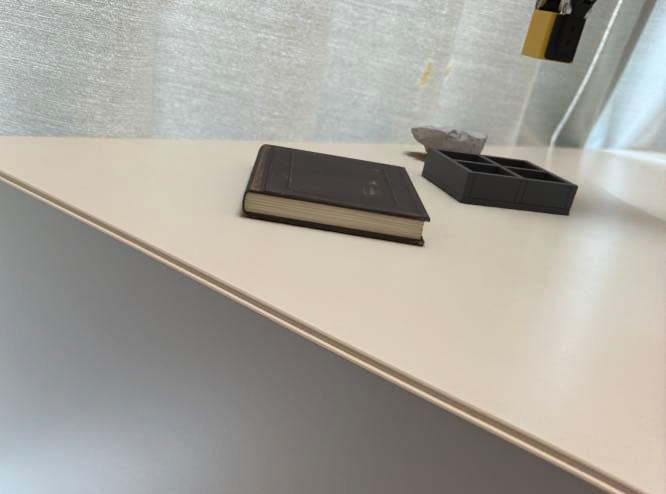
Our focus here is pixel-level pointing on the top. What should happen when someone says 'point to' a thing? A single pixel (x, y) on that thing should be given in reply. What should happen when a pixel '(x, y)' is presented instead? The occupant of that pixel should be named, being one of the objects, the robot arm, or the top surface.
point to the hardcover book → (334, 194)
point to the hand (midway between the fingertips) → (547, 56)
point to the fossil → (450, 139)
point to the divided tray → (498, 181)
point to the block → (540, 34)
